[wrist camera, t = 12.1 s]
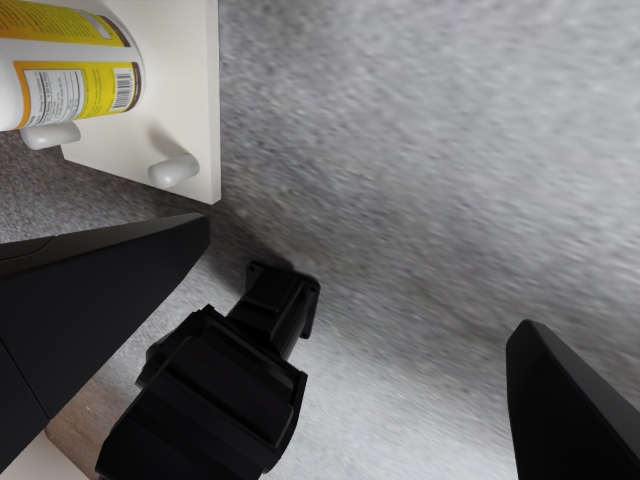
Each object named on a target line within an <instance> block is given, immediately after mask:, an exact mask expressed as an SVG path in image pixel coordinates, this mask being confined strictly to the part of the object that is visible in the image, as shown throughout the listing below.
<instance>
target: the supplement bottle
mask: <svg viewBox="0 0 640 480" xmlns="http://www.w3.org/2000/svg"><path fill="white" fill-rule="evenodd" d="M145 84H146V78H145V70H144V66H143V62H142V59H141V56H140V54H139V52H138V49H137V47H136V46H135V44H134V42H133V41H132V39H131V38H130V36H129V35H128V34H127V33H126V31H125V30H124V29H123V28H122V27H121V26H120V25H119V24H118V23H116V22H115V21H114V20H112V19H111V18H109V17H107V16H105V15H103V14H100V13H97V12H93V11H87V10H80V9H74V8H68V7H61V6H55V5H49V4H43V3H36V2H30V1H24V0H0V131H8V130H15V129H21V128H27V127H33V126H40V125H47V124H53V123H60V122H67V121H73V120H79V119H85V118H92V117H98V116H105V115H111V114H118V113H123V112H127V111H130V110H132V109H134V108H135V107H136V106H137V105H138V104H139V103H140V102H141V100H142V98H143V96H144V92H145Z"/></svg>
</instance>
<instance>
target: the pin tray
mask: <svg viewBox="0 0 640 480" xmlns="http://www.w3.org/2000/svg"><path fill="white" fill-rule="evenodd" d="M24 1H30V2H36V3H43V4H49V5H55V6H61V7H68V8H74V9H80V10H87V11H93V12H97V13H100V14H103V15H105V16H107V17H109V18H111V19H112V20H114V21H115V22H116V23H118V24H119V25H120V26H121V27H122V28H123V29H124V30H125V31H126V33H127V34H128V35H129V36H130V38H131V39H132V41H133V42H134V44H135V46H136V47H137V49H138V52H139V54H140V56H141V59H142V62H143V66H144V70H145V78H146V84H145V92H144V96H143V98H142V100H141V102H140V103H139V104H138V105H137V106H136V107H135V108H134V109H132V110H130V111H127V112H123V113H118V114H111V115H105V116H98V117H92V118H85V119H79V120H73V121H67V122H60V123H53V124H47V125H40V126H33V127H27V128H21V129H20V134H21V137H22V139H23V141H24V142H25V143H26V145H27V146H29V147H30V148H31V149H34V150H38V149H42V148H47V147H52V146H57V145H61V148H62V151H63V155H64V158H65V159H66V160H69V161H72V162H75V163H79V164H82V165H85V166H88V167H92V168H95V169H98V170H101V171H104V172H108V173H111V174H114V175H117V176H120V177H124V178H127V179H130V180H133V181H137V182H140V183H143V184H146V185H149V186H153V187H156V188H159V189H162V190H165V191H169V192H172V193H175V194H178V195H182V196H185V197H188V198H191V199H194V200H198V201H201V202H204V203H207V204H211V205H213V204H214V203H216V202H217V201H219V200H221V163H220V102H219V41H218V0H24Z"/></svg>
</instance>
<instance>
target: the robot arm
mask: <svg viewBox="0 0 640 480" xmlns="http://www.w3.org/2000/svg"><path fill="white" fill-rule="evenodd" d="M209 244H210V220H209V218H208V217H207V216H205V215H202V214H199V213H189V214H183V215H177V216H171V217H165V218H159V219H153V220H146V221H140V222H134V223H128V224H122V225H116V226H110V227H103V228H97V229H91V230H85V231H79V232H73V233H67V234H61V235H58V236H48V237H42V238H36V239H29V240H22V241H16V242H9V243H2V244H0V474H1V473H2V472H3V471H4V470H5V469H6V468H7V467H8V466H9V465H10V464H11V463H12V461H13V460H14V459H15V458H16V457H17V456H18V455H19V454H20V453H21V452H22V451H23V450H24V449H25V448H26V447H27V445H29V444H30V442H31V441H32V440H33V439H34V438H35V437H36V436H37V435H38V434H39V433H40V432H41V431H42V430H43V429H44V428H45V427H46V426H47V424H48V423H49V422H50V420H51V419H53V418H54V417H55V416H56V415H57V414H58V412H59V411H60V410H61V409H62V408H63V407H64V406H65V405H66V404H67V403H68V402H69V401H70V400H71V399H72V398H73V397H74V396H75V394H76V393H77V392H78V391H79V390H80V389H81V388H82V387H83V386H84V385H85V384H86V383H87V382H88V381H89V380H90V379H91V377H92V376H93V375H94V374H95V373H96V372H97V371H98V370H99V369H100V368H101V367H102V366H103V365H104V364H105V363H106V362H107V361H108V359H109V358H110V357H111V356H112V355H113V354H114V353H115V352H116V351H117V350H118V349H119V348H120V347H121V346H122V345H123V344H124V343H125V341H126V340H127V339H128V338H129V337H130V336H131V335H132V334H133V333H134V332H135V331H136V330H137V329H138V328H139V327H140V326H141V324H142V323H143V322H144V321H145V320H146V319H147V318H148V317H149V316H150V315H151V314H152V313H153V312H154V311H155V310H156V309H157V308H158V306H159V305H160V304H161V303H162V302H163V301H164V300H165V299H166V298H167V297H168V296H169V295H170V294H171V293H172V292H173V291H174V289H175V288H176V287H177V286H178V285H179V284H180V283H181V281H182V280H183V279H184V278H185V277H186V275H187V274H188V273H189V271H190V270H191V269H192V267H193V266H194V265H195V263H196V262H197V261H198V259H199V258H200V257H201V255H202V254H203V253H204V252H205V250H206V249H207V248H208V246H209ZM252 266H253V267H254V268H255V269H254V268H253V267H252ZM312 287H314V288H315V289H313V288H312ZM320 289H321V288H320V285H319V284H318V283H316V282H314V281H311V280H308V279H305V278H302V277H299V276H296V275H293V274H290V273H287V272H284V271H281V270H278V269H275V268H272V267H270V266H267V265H264V264H261V263H258V262H255V261H251V262H250V263H249V264H248V265H247V271H246V292H245V294H244V295H243V296H242V297H241V298H240V300H239V301H238V302H237V303H236V304H235V306H234V307H233V308H232V309H231V310H230V312H229V313H228V314H227V315H226V317H224V316H223V315H222V314H220V313H219V312H217V311H216V310H215V308H214V307H213V306H211V305H210V304H207V305H206V306H205V307H204V308H203V309H202V310H200V309H199V310H198V311H196V312H192V313H191V314H190V315H189V316H188V317H187V318H186V319H185V320H184V321H183V322H182V323H181V324H180V325H179V326H178V327H177V328H175V329H174V330H173V331H171V332H170V333H168V334H167V335H165V336H164V337H162V338H161V339H159V340H158V341H157V342H155V343H154V344H152V345H151V346H150V347H149V349H148V350H147V351H146V364H145V365H144V367H143V369H142V372H141V374H140V375H139V377H138V378H137V380H136V382H135V385H136V386H137V387H139V388H140V389H142V391H141V392H140V393H139V395H138V396H137V397H136V398H135V400H134V401H133V402H132V403H131V405H130V406H129V407H128V408H127V410H126V411H125V412H124V413H123V415H122V416H121V417H120V418H119V420H118V421H117V422H116V423H115V424H114V426H113V428H112V429H111V431H110V434H109V436H108V437H107V438H106V440H105V441H104V443H103V445H102V448H101V451H100V454H99V457H98V460H97V463H96V467H95V472H96V473H98V474H99V475H100V476H99V480H258V479H259V477H260V476H261V474H262V473H263V474H267V473H268V472H269V471H271V469H272V468H273V467H274V466H275V465H276V464H277V462H278V461H279V460H280V458H281V456H282V455H283V453H284V452H285V450H286V448H287V446H288V444H289V442H290V440H291V438H292V436H293V433H294V431H295V428H296V425H297V422H298V418H299V413H300V409H301V404H302V400H303V395H304V391H305V386H306V382H307V377H308V375H307V374H306V373H305V372H303V371H299V370H298V369H297V368H295V367H294V366H293V365H291V364H290V363H288V362H287V360H288V358H289V356H290V354H291V352H292V350H293V348H294V346H295V344H296V342H297V340H298V338H299V337H300V338H303V339H308V338H309V337H310V335H311V331H312V326H313V322H314V317H315V312H316V308H317V303H318V298H319V294H320ZM506 377H507V403H508V412H509V419H510V426H511V432H512V439H513V446H514V452H515V459H516V466H517V472H518V479H519V480H640V412H639V411H638V410H637V409H636V408H635V407H634V406H633V405H632V404H630V403H629V402H628V401H627V400H626V399H625V398H624V397H623V396H622V395H621V394H620V393H619V392H617V391H616V390H615V389H614V388H613V387H612V386H611V385H610V384H609V383H608V382H607V381H606V380H604V379H603V378H602V377H601V376H600V375H599V374H598V373H597V372H596V371H595V370H594V369H593V368H591V367H590V366H589V365H588V364H587V363H586V362H585V361H584V360H583V359H582V358H581V357H580V356H578V355H577V354H576V353H575V352H574V351H573V350H572V349H571V348H570V347H569V346H568V345H567V344H565V343H564V342H563V341H562V340H561V339H560V338H559V337H558V336H557V335H556V334H555V333H554V332H552V331H551V330H550V329H549V328H548V327H547V326H546V325H544V324H542V323H539V322H536V321H533V320H530V319H525V320H523V321H522V322H521V323H520V324H519V326H518V327H517V328H516V330H515V331H514V332H513V334H512V335H511V336H510V338H509V339H508V341H507V344H506Z"/></svg>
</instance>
